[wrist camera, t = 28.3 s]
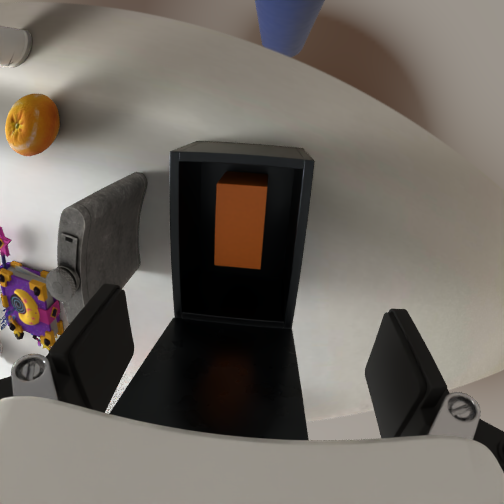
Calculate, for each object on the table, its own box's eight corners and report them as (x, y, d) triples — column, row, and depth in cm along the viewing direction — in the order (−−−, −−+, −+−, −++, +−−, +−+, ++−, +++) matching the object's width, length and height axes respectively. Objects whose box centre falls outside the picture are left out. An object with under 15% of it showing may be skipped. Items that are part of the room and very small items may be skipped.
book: (19, 331, 54) (-12, 367, 42) (-1, 219, 43) (-48, 247, 32) (73, 353, 54) (44, 396, 43) (59, 235, 44) (11, 271, 33)
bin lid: (99, 428, 16) (114, 478, 17) (311, 458, 16) (296, 505, 17) (173, 317, 34) (174, 359, 35) (292, 328, 34) (286, 371, 35)
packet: (223, 241, 42) (214, 265, 35) (226, 171, 38) (216, 183, 32) (262, 244, 41) (260, 269, 35) (268, 174, 38) (267, 186, 31)
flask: (117, 266, 45) (54, 340, 29) (123, 169, 39) (38, 211, 23) (139, 271, 45) (82, 351, 29) (148, 174, 39) (71, 218, 23)
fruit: (28, 75, 31) (-5, 110, 26) (76, 97, 35) (48, 135, 31) (20, 115, 36) (-7, 152, 32) (62, 136, 41) (39, 174, 37)
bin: (196, 141, 38) (169, 151, 28) (303, 148, 37) (314, 160, 27) (195, 272, 45) (174, 318, 35) (288, 280, 44) (291, 329, 34)
